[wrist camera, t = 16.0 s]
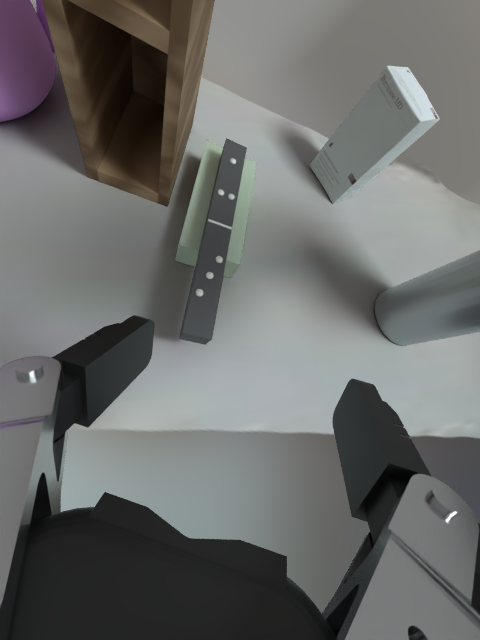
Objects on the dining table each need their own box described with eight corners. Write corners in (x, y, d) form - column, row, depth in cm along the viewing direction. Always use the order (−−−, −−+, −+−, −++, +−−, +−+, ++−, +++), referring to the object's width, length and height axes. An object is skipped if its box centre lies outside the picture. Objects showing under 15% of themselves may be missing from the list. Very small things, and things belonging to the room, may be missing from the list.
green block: (247, 182, 37) (256, 162, 34) (230, 277, 31) (240, 264, 28) (201, 162, 35) (206, 139, 32) (174, 260, 29) (178, 244, 26)
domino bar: (239, 165, 32) (246, 147, 30) (205, 344, 24) (211, 339, 22) (220, 157, 32) (226, 137, 29) (178, 338, 24) (182, 332, 21)
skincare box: (307, 166, 43) (382, 61, 29) (330, 160, 45) (408, 62, 32) (333, 206, 42) (422, 119, 29) (354, 198, 45) (444, 115, 31)
